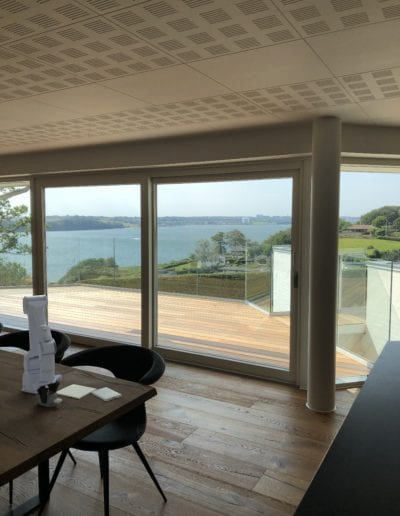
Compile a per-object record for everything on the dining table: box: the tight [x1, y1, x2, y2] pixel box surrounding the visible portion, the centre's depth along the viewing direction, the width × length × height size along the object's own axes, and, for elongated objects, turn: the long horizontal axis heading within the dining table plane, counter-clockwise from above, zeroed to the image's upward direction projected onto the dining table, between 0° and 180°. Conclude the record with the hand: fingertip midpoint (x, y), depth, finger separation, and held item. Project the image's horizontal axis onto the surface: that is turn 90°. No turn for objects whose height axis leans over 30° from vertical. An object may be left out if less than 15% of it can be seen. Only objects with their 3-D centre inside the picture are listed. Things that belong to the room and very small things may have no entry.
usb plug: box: [38, 390, 63, 408], centre depth 180 cm, size 11×4×5 cm, turn 65°
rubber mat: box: [56, 383, 98, 400], centre depth 195 cm, size 14×12×1 cm
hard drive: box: [90, 386, 123, 402], centre depth 192 cm, size 2×8×12 cm
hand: (48, 401), depth 181 cm, fingers closed on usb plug, 4 cm apart
